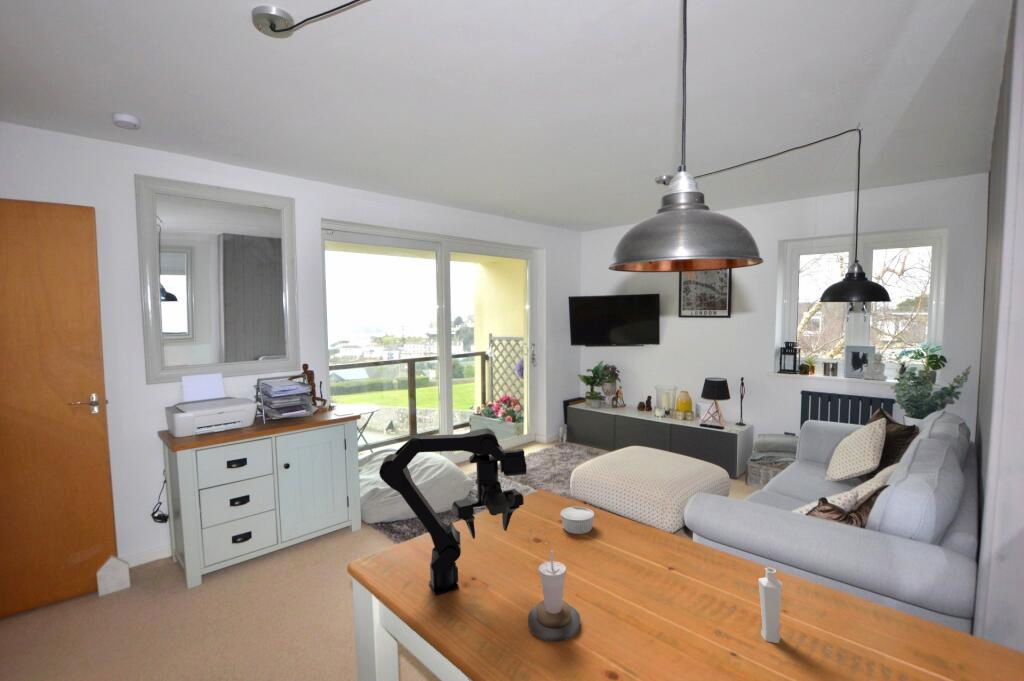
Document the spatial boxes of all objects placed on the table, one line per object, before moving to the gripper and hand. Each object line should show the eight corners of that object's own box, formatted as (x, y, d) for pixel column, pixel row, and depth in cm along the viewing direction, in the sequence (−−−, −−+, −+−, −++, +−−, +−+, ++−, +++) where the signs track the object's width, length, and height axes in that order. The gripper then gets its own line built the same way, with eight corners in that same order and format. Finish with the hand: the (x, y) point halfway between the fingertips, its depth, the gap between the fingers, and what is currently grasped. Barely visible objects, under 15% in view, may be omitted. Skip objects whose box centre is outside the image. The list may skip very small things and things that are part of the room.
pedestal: (544, 648, 100) (544, 632, 100) (519, 616, 111) (518, 602, 111) (590, 630, 105) (590, 615, 105) (562, 602, 116) (562, 588, 116)
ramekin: (596, 522, 160) (596, 507, 160) (592, 538, 149) (591, 521, 149) (564, 519, 163) (564, 504, 163) (557, 534, 153) (557, 518, 152)
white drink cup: (539, 617, 105) (537, 556, 104) (539, 600, 112) (538, 542, 111) (568, 617, 105) (566, 556, 104) (566, 600, 111) (565, 543, 110)
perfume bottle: (761, 627, 105) (760, 562, 104) (783, 635, 102) (783, 568, 101) (756, 638, 101) (756, 571, 101) (779, 647, 99) (779, 577, 98)
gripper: (465, 493, 114) (467, 556, 114) (532, 480, 122) (534, 538, 122) (450, 480, 124) (452, 537, 124) (513, 468, 132) (515, 522, 132)
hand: (489, 534), depth 126 cm, fingers open, 9 cm apart
